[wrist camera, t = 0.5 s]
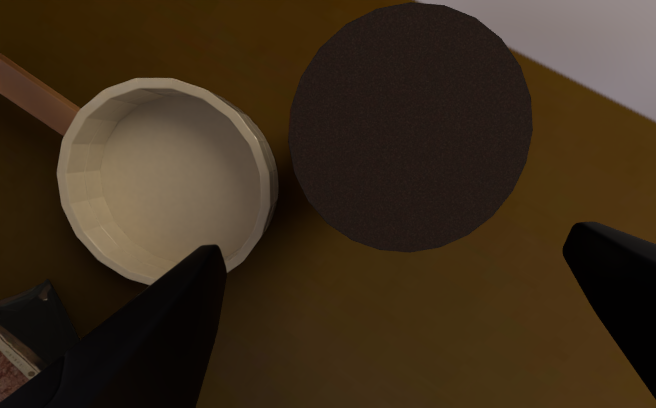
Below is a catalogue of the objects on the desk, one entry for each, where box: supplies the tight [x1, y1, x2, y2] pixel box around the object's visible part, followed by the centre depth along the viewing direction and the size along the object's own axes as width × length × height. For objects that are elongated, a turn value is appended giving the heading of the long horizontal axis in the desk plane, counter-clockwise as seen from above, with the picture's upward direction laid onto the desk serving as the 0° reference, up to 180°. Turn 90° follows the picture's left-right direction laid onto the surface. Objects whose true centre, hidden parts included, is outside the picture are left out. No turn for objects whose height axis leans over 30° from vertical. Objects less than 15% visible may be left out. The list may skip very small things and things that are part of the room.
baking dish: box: [0, 279, 80, 402], centre depth 22 cm, size 14×18×10 cm
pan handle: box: [0, 53, 81, 136], centre depth 19 cm, size 2×10×1 cm, turn 53°
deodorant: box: [288, 2, 533, 252], centre depth 15 cm, size 6×6×15 cm
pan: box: [57, 78, 278, 285], centre depth 21 cm, size 13×13×4 cm
